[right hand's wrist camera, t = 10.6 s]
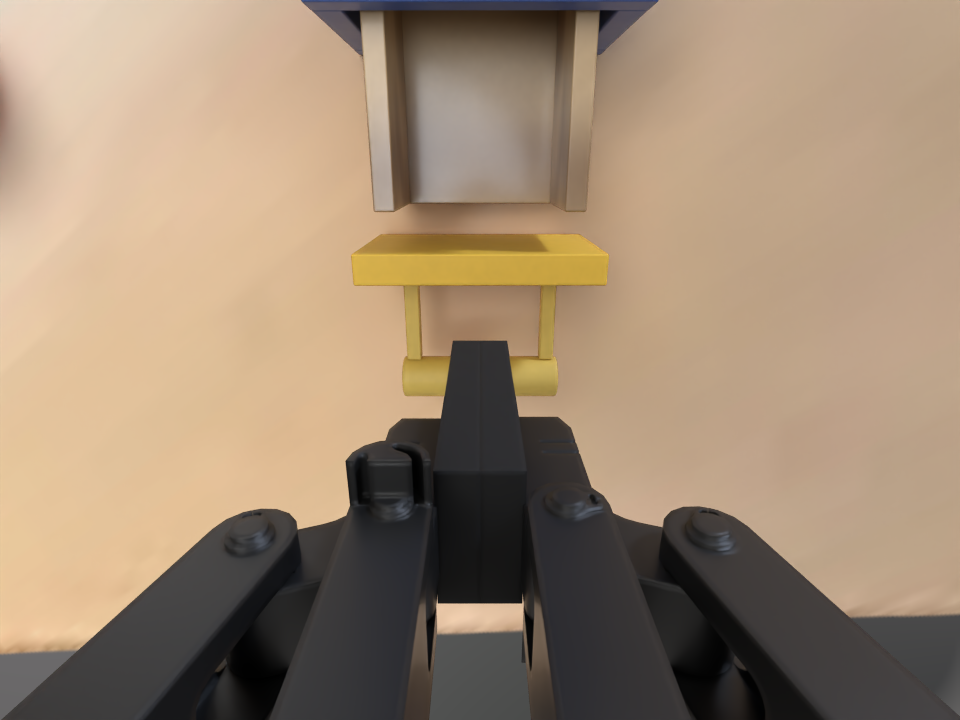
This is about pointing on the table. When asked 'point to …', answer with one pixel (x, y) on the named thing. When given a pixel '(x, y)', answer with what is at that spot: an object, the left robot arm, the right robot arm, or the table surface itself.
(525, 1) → the cabinet
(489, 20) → the drawer
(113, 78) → the table surface
